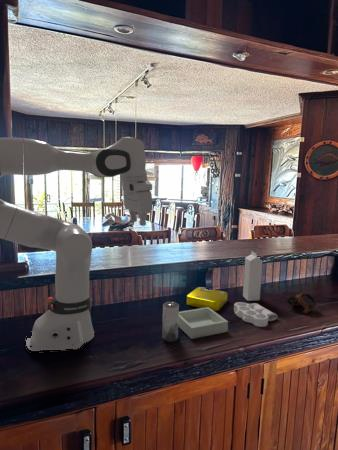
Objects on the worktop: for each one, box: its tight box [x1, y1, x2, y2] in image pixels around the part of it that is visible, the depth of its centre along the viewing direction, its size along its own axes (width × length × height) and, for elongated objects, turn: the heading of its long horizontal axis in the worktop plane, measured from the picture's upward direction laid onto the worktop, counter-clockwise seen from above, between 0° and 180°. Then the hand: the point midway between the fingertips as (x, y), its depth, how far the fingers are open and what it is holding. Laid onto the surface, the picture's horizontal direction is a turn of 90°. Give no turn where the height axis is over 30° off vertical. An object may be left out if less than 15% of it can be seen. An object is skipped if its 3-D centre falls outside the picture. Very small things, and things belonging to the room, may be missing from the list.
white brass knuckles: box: [233, 301, 278, 328], centre depth 136 cm, size 3×18×15 cm
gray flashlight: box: [161, 301, 180, 343], centre depth 116 cm, size 6×6×13 cm
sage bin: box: [178, 307, 229, 340], centre depth 125 cm, size 15×14×4 cm
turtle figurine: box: [285, 292, 317, 314], centre depth 144 cm, size 12×10×8 cm
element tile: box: [186, 286, 228, 312], centre depth 150 cm, size 15×15×5 cm
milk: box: [242, 250, 263, 302], centre depth 155 cm, size 6×6×22 cm
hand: (138, 223), depth 119 cm, fingers open, 8 cm apart
